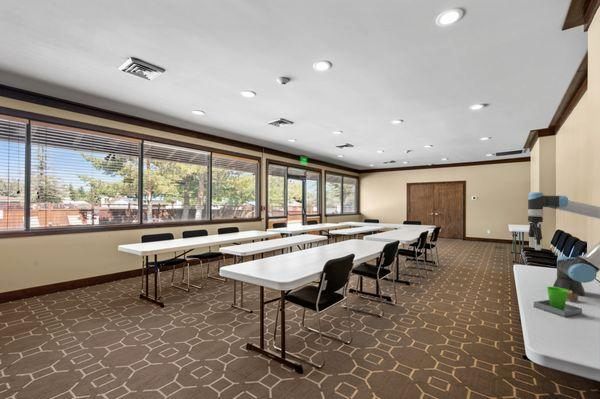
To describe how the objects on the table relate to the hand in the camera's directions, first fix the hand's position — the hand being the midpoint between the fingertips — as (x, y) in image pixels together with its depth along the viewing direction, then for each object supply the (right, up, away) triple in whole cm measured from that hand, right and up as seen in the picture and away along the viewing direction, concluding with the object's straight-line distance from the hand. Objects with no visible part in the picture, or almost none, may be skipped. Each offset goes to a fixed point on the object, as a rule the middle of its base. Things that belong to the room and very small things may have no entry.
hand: (534, 248), depth 184 cm
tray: (-14, -28, -31) cm, 44 cm away
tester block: (+9, -29, -13) cm, 33 cm away
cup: (-14, -28, -31) cm, 44 cm away
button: (+9, -26, -13) cm, 30 cm away
